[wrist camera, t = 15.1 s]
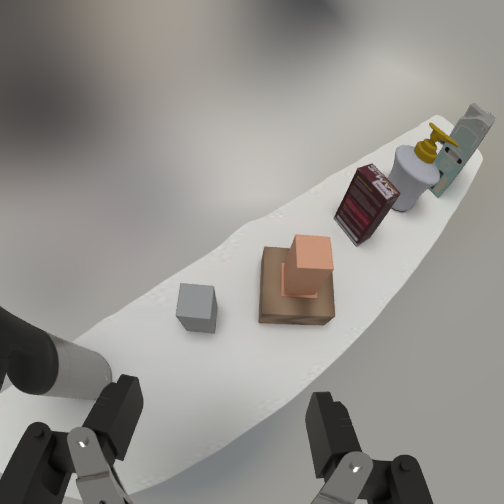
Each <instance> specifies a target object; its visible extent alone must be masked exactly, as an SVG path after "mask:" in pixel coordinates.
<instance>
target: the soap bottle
mask: <svg viewBox="0 0 504 504" xmlns="http://www.w3.org/2000/svg"><path fill="white" fill-rule="evenodd" d="M429 125H430V127H431V128H432V129H433V131H432V133H431V135H430V140H429V139H424V141H420V142H418V143H417V145H416V147H412V146H409V145H401V146H400V147H398V148H397V149H396V152H395V160H394V165H393V168H392V170H391V173H390V174H389V176H388V178H387V179H388V180H389V181H390V182H391V183H392V184H393V185H394V186H395V188H396V189H397V190H398V191H399V192H400V193H401V194H400V196H399V197H398V199H397V200H396V202H395V203H394V205H393V206H392V208H394V209H395V210H399V211H405V210H408V209H409V208H411V207H412V206H413V204H414V203H415V202H416V200H417V199H418V198H419V196H420V195H421V194H422V193H423V192H424V191H426V190H427V189H428V188H430V187H432V186H434V185H435V184H436V183H437V182H439V178H440V173H439V171H438V168H437V166H436V165H435V163H434V160H435V159H436V157H437V153H436V150H437V146H436V144H435V142H437V141H439V139H440V140H442V141H444V142H447V143H449V144H452V145H454V146H455V147H457V148H458V147H459V145H458V144H457V143H456V142H455V141H454V140H453V139H452V138H450V137H449V136H448V135H446V134H445V133H444V132H443V131H441V130H440V129H439V128H437V127H436V126H435V125H434V124H433V123H429Z"/></svg>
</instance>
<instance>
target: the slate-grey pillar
mask: <svg viewBox="0 0 504 504" xmlns="http://www.w3.org/2000/svg"><path fill="white" fill-rule="evenodd" d="M216 316H217V301H216V296H215V290H214V286H207V285H195V284H184V283H180V289H179V295H178V302H177V309H176V317H177V318H178V319H179V321H180V322H181V324H182V325H183V326H184V328H185V329H186V330H187V331H196V332H206V333H215V327H216Z"/></svg>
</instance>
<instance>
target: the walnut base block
mask: <svg viewBox="0 0 504 504" xmlns="http://www.w3.org/2000/svg"><path fill="white" fill-rule="evenodd" d="M289 251H290V248H277V247H264V251H263V256H262V261H261V280H260V304H259V323H274V324H299V325H325V324H326V323H327V322H329V321H330V320H331V319H332V318H334V317H335V306H334V289H333V276H332V272H331V274H330V275H329V276H328V278H327V279H326V280H325V282H324V283H323V284H322V286H321V287H320V288H319V290H318V291H317V292H316V293H315V295H292V294H284V264H285V262H286V259H287V256H288V254H289Z"/></svg>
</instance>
